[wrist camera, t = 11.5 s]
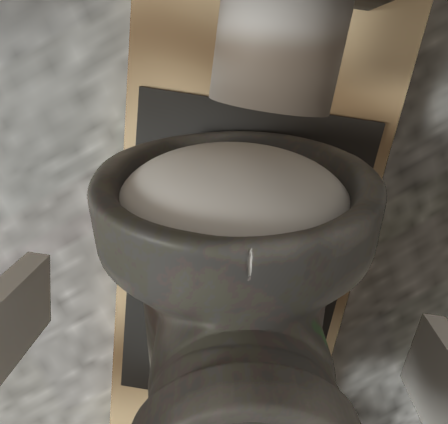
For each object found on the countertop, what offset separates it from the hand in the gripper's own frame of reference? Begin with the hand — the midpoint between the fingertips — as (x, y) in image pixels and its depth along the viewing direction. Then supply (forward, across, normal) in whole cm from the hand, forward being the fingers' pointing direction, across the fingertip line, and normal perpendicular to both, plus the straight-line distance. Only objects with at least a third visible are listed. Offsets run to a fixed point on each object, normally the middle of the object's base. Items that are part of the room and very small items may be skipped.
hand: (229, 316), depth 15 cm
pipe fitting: (+3, 0, 0) cm, 3 cm away
